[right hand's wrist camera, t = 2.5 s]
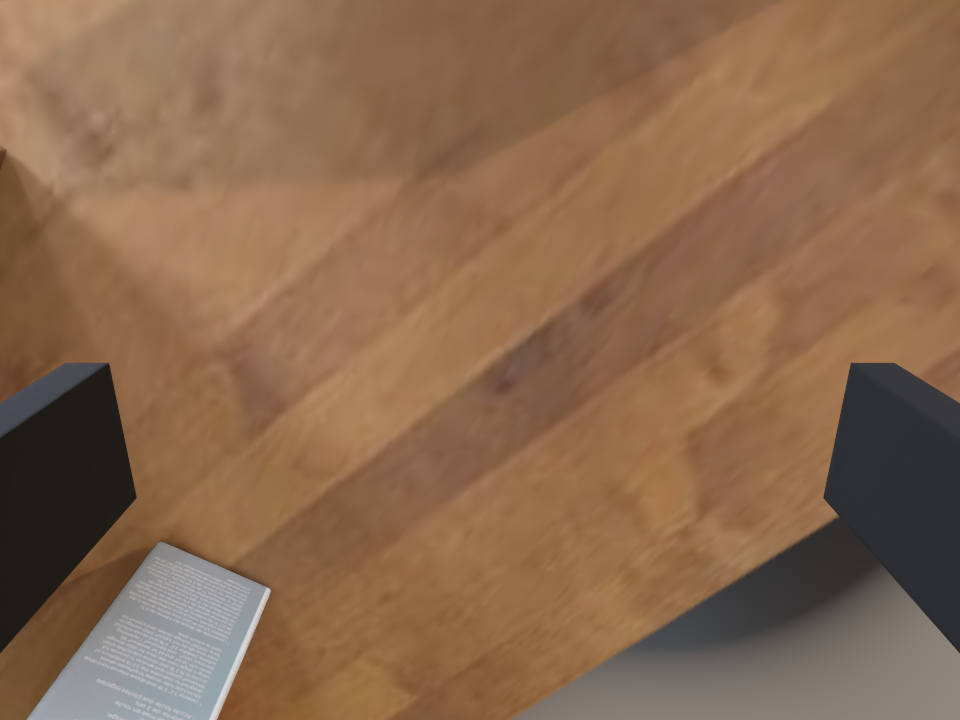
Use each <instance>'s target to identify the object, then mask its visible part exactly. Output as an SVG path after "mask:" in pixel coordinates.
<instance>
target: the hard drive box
mask: <svg viewBox="0 0 960 720" xmlns="http://www.w3.org/2000/svg"><path fill="white" fill-rule="evenodd" d="M270 592H271V590H270V589H269V588H267V587H265V586H263V585H261V584H259V583H256V582H254V581H252V580H249V579H247V578H245V577H242V576H240V575H238V574H235V573H233V572H231V571H229V570H226V569H224V568H222V567H220V566H217V565H215V564H213V563H210V562H208V561H206V560H203V559H201V558H199V557H197V556H194V555H192V554H189V553H187V552H184V551H182V550H180V549H178V548H175V547H173V546H171V545H168V544H166V543H163V542H159V543H157V544H156V545H155V547H154V548H153V549H152V550H151V552H150V553H149V554H148V555H147V557H146V558H145V559H144V561H143V562H142V563H141V565H140V566H139V568H138V569H137V570H136V572H135V573H134V574H133V576H132V577H131V578H130V580H129V581H128V582H127V584H126V585H125V586H124V588H123V589H122V591H121V592H120V593H119V595H118V596H117V597H116V599H115V600H114V601H113V603H112V604H111V605H110V607H109V608H108V609H107V611H106V612H105V614H104V615H103V616H102V618H101V619H100V620H99V622H98V623H97V624H96V626H95V627H94V628H93V630H92V631H91V632H90V634H89V635H88V636H87V638H86V639H85V640H84V642H83V643H82V645H81V646H80V647H79V649H78V650H77V651H76V653H75V654H74V655H73V657H72V658H71V659H70V661H69V662H68V664H67V665H66V666H65V668H64V669H63V670H62V672H61V673H60V674H59V676H58V677H57V678H56V680H55V681H54V683H53V684H52V685H51V687H50V688H49V689H48V691H47V692H46V693H45V695H44V696H43V697H42V699H41V700H40V701H39V703H38V704H37V706H36V707H35V708H34V710H33V711H32V712H31V714H30V715H29V716H28V718H27V719H26V720H217V718H218V716H219V714H220V711H221V709H222V707H223V704H224V702H225V700H226V697H227V695H228V693H229V690H230V688H231V686H232V683H233V681H234V679H235V676H236V674H237V672H238V669H239V667H240V665H241V662H242V660H243V658H244V655H245V653H246V651H247V648H248V646H249V644H250V641H251V639H252V636H253V634H254V632H255V629H256V627H257V624H258V622H259V620H260V617H261V615H262V612H263V610H264V607H265V605H266V602H267V600H268V598H269V595H270Z"/></svg>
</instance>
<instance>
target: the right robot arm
mask: <svg viewBox="0 0 960 720" xmlns="http://www.w3.org/2000/svg"><path fill="white" fill-rule="evenodd" d="M136 498H137V497H136V492H135V488H134V483H133V478H132V473H131V468H130V463H129V458H128V453H127V449H126V444H125V439H124V434H123V429H122V424H121V419H120V414H119V409H118V405H117V400H116V395H115V390H114V385H113V380H112V375H111V370H110V366H109V363H65V364H63V365H62V366H60V367H58V368H57V369H55V370H54V371H52V372H50V373H49V374H47V375H45V376H44V377H42V378H41V379H39V380H37V381H36V382H34V383H32V384H31V385H29V386H28V387H26V388H24V389H23V390H21V391H19V392H18V393H16V394H15V395H13V396H11V397H10V398H8V399H7V400H5V401H3V402H2V403H0V653H1V652H2V651H3V649H4V648H5V647H6V646H7V645H8V644H9V643H10V641H11V640H12V639H13V638H14V637H15V636H16V635H17V633H18V632H19V631H20V630H21V629H22V628H23V627H24V625H25V624H26V623H27V622H28V621H29V620H30V619H31V618H32V616H33V615H34V614H35V613H36V612H37V611H38V610H39V608H40V607H41V606H42V605H43V604H44V603H45V602H46V600H47V599H48V598H49V597H50V596H51V595H52V594H53V592H54V591H55V590H56V589H57V588H58V587H59V586H60V585H61V583H62V582H63V581H64V580H65V579H66V578H67V577H68V575H69V574H70V573H71V572H72V571H73V570H74V569H75V567H76V566H77V565H78V564H79V563H80V562H81V561H82V559H83V558H84V557H85V556H86V555H87V554H88V553H89V552H90V550H91V549H92V548H93V547H94V546H95V545H96V544H97V542H98V541H99V540H100V539H101V538H102V537H103V536H104V534H105V533H106V532H107V531H108V530H109V529H110V528H111V527H112V525H113V524H114V523H115V522H116V521H117V520H118V519H119V517H120V516H121V515H122V514H123V513H124V512H125V511H126V509H127V508H128V507H129V506H130V505H131V504H132V503H133V501H134V500H135V499H136ZM823 498H824V499H825V500H826V501H827V503H828V504H829V505H830V506H831V507H832V508H833V509H834V511H835V512H836V513H837V514H838V515H839V516H840V517H841V518H842V520H843V521H844V522H845V523H846V524H847V525H848V527H849V528H850V529H851V530H852V531H853V532H854V533H855V534H856V536H857V537H858V538H859V539H860V540H861V541H862V542H863V544H864V545H865V546H866V547H867V548H868V549H869V550H870V551H871V553H872V554H873V555H874V556H875V557H876V558H877V559H878V561H879V562H880V563H881V564H882V565H883V566H884V567H885V569H886V570H887V571H888V572H889V573H890V574H891V575H892V577H893V578H894V579H895V580H896V581H897V582H898V583H899V584H900V586H901V587H902V588H903V589H904V590H905V591H906V592H907V594H908V595H909V596H910V597H911V598H912V599H913V600H914V602H915V603H916V604H917V605H918V606H919V607H920V608H921V610H922V611H923V612H924V613H925V614H926V615H927V616H928V617H929V619H930V620H931V621H932V622H933V623H934V624H935V625H936V627H937V628H938V629H939V630H940V631H941V632H942V633H943V635H944V636H945V637H946V638H947V639H948V640H949V641H950V643H951V644H952V645H953V646H954V647H955V648H956V649H957V651H958V652H959V653H960V403H958V402H957V401H955V400H953V399H952V398H950V397H949V396H947V395H945V394H944V393H942V392H941V391H939V390H937V389H936V388H934V387H932V386H931V385H929V384H928V383H926V382H924V381H923V380H921V379H919V378H918V377H916V376H915V375H913V374H911V373H910V372H908V371H906V370H905V369H903V368H902V367H900V366H898V365H897V364H895V363H851V366H850V370H849V375H848V380H847V385H846V390H845V395H844V400H843V405H842V409H841V414H840V419H839V424H838V429H837V434H836V439H835V444H834V449H833V453H832V458H831V463H830V468H829V473H828V478H827V483H826V488H825V492H824V497H823Z"/></svg>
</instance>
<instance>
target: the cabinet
mask: <svg viewBox="0 0 960 720" xmlns="http://www.w3.org/2000/svg"><path fill="white" fill-rule="evenodd" d="M5 154H6V149H4V148H2V147H1V146H0V168H1V165H2V162H3V159H4V156H5Z"/></svg>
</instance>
